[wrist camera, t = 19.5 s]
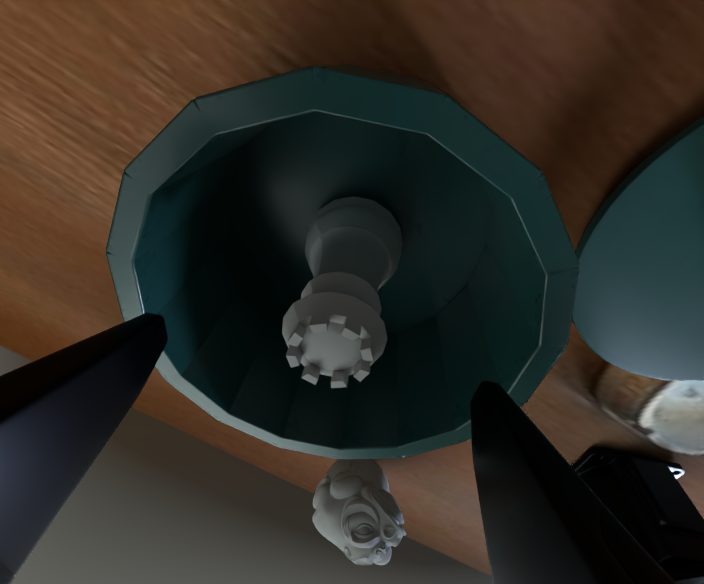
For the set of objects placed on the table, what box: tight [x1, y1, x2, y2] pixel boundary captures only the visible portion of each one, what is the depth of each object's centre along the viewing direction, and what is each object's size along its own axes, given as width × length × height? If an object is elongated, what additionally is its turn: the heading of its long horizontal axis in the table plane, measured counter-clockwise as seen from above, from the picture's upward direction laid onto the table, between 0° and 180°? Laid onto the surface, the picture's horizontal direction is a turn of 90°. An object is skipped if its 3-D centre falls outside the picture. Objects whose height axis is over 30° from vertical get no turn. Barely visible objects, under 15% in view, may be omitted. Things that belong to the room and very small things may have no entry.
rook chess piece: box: [282, 196, 403, 388], centre depth 13 cm, size 4×4×8 cm
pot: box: [106, 65, 580, 460], centre depth 14 cm, size 14×14×8 cm
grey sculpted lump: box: [313, 459, 406, 565], centre depth 25 cm, size 6×7×7 cm
